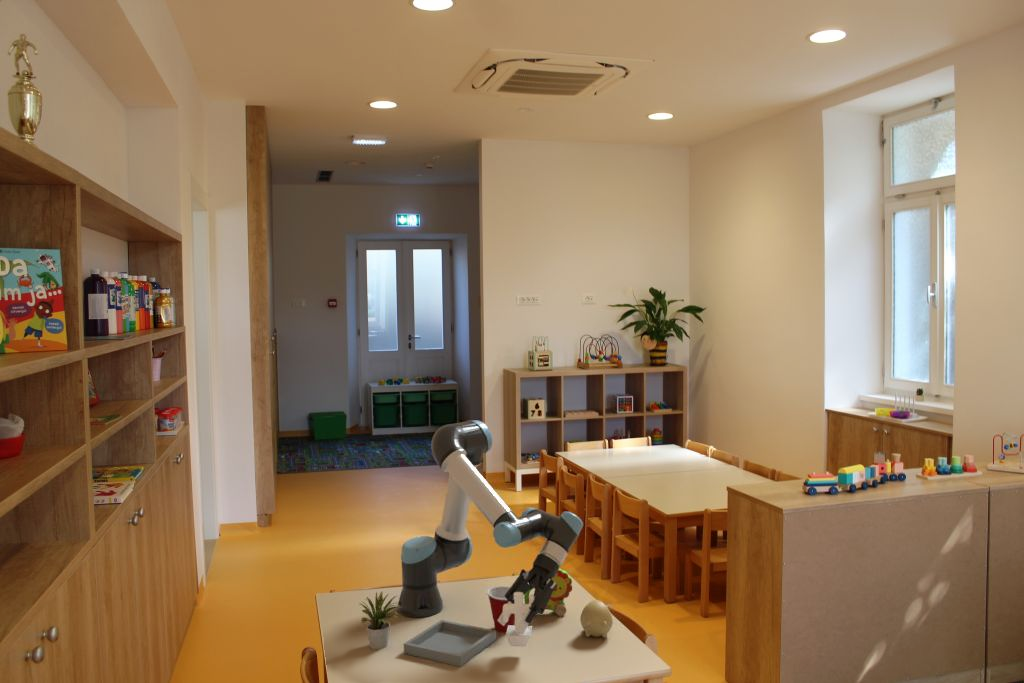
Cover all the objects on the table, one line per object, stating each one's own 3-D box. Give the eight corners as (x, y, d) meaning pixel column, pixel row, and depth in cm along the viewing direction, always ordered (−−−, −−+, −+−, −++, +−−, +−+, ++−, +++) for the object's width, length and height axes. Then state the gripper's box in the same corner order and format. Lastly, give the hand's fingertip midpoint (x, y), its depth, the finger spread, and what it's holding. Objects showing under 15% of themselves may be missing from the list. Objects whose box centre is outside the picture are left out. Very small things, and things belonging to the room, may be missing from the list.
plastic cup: (518, 636, 249) (517, 598, 249) (484, 634, 252) (483, 596, 251) (525, 622, 260) (524, 586, 259) (492, 620, 262) (491, 584, 262)
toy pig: (612, 646, 249) (614, 614, 256) (611, 628, 241) (613, 595, 248) (580, 644, 251) (583, 611, 258) (578, 625, 242) (581, 593, 250)
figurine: (504, 637, 240) (503, 587, 239) (536, 638, 239) (535, 588, 238) (501, 647, 233) (500, 597, 232) (534, 648, 232) (533, 597, 231)
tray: (403, 653, 239) (403, 643, 239) (441, 629, 257) (441, 619, 257) (461, 666, 230) (460, 656, 229) (496, 640, 247) (496, 630, 247)
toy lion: (525, 617, 264) (524, 571, 264) (524, 611, 270) (523, 566, 269) (573, 615, 265) (572, 570, 264) (571, 609, 270) (570, 564, 270)
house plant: (373, 662, 234) (371, 606, 233) (343, 649, 243) (341, 596, 242) (410, 645, 245) (408, 592, 244) (380, 634, 254) (378, 582, 253)
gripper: (580, 574, 237) (540, 644, 228) (533, 558, 253) (494, 623, 243) (567, 561, 234) (526, 631, 224) (520, 545, 249) (480, 611, 239)
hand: (509, 627), depth 234 cm, fingers closed on figurine, 7 cm apart
